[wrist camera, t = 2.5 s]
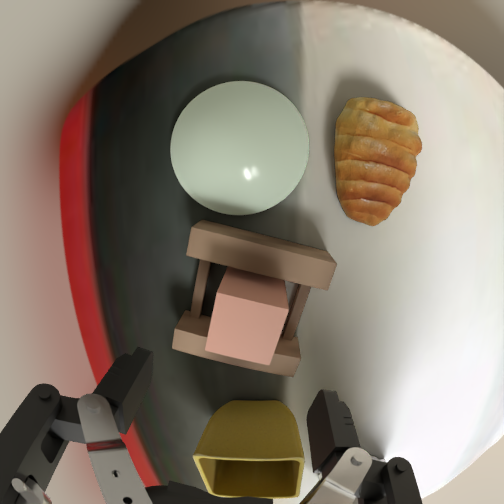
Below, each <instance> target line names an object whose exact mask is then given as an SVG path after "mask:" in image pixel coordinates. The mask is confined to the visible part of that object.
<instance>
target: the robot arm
mask: <svg viewBox="0 0 504 504" xmlns="http://www.w3.org/2000/svg"><path fill="white" fill-rule="evenodd" d="M153 355H154V354H153V352H152V351H149V350H146V349H143V348H140V347H138V348H137V349H136V350H135V352H134V353H133V355H132V356H131V355H128V354H126V353H125V354H123V355H122V356H120V357H118V358H117V359H116V360H115V362H114V363H113V365H112V367H110V369H109V370H108V372H107V373H106V374H105V376H104V377H103V379H102V380H101V382H100V383H99V384H98V386H97V387H96V389H95V390H94V392H93V393H92V394H86V395H84V396H82V397H81V398H71V397H66V396H61V395H60V394H59V391H58V390H57V389H56V388H55V387H54V386H52V385H49V384H39V385H37V386H35V387H34V388H33V389H32V390H31V391H30V393H29V394H28V396H27V397H26V398H25V399H24V401H23V402H22V403H21V405H20V406H19V408H18V409H17V410H16V412H15V413H14V415H13V416H12V417H11V419H10V420H9V422H8V423H7V424H6V426H5V427H4V429H3V430H2V432H1V433H0V504H52V502H51V500H50V498H49V497H48V496H47V494H45V491H46V488H47V486H48V484H49V482H50V480H51V477H52V475H53V473H54V471H55V469H56V467H57V465H58V463H59V461H60V459H61V457H62V455H63V453H64V451H65V449H66V446H67V445H68V443H69V441H73V442H79V443H84V444H87V450H88V454H89V457H90V460H91V464H92V467H93V470H94V473H95V476H96V478H97V481H98V484H99V487H100V489H101V492H102V495H103V497H104V499H105V502H106V504H273V499H271V498H259V497H250V496H245V497H230V498H221V497H217V496H215V495H212V494H210V493H208V492H205V491H203V490H201V489H198V488H196V487H193V486H189V485H184V484H181V483H177V482H173V481H169V484H168V486H164V485H161V486H150V487H145V488H144V486H143V484H142V482H141V480H140V478H139V475H138V473H137V471H136V469H135V467H134V464H133V462H132V460H131V457H130V455H129V453H128V450H127V448H126V446H125V444H124V442H122V439H121V437H120V434H119V432H120V433H123V434H125V435H126V433H127V431H128V429H129V427H130V425H131V423H132V421H133V419H134V417H135V415H136V413H137V410H138V408H139V406H140V404H141V402H142V400H143V398H144V396H145V394H146V392H147V390H148V388H149V386H150V383H151V380H152V373H153ZM353 424H354V423H353V420H352V416H351V413H350V410H349V408H348V407H347V406H346V404H345V403H344V402H339V399H338V395H337V392H336V391H330V390H320V391H319V392H318V394H317V396H316V398H315V400H314V401H313V403H312V405H311V407H310V408H309V411H308V414H307V427H308V434H309V442H310V450H311V458H312V467H313V473H320V474H319V481H318V482H317V484H316V485H315V486H314V487H313V489H312V490H311V491H310V492H309V493H308V494H307V496H306V497H305V498H304V499H303V500H302V501H301V502H300V504H422V500H421V497H420V493H419V490H418V486H417V483H416V479H415V476H414V473H413V470H412V466H411V464H410V463H409V462H408V461H407V460H406V459H404V458H401V457H395V458H392V459H391V460H390V461H389V462H388V463H386V462H385V459H378V458H377V457H375V456H372V455H370V454H369V453H368V452H367V451H365V450H364V449H362V448H360V444H359V441H358V437H357V434H356V430H355V427H354V425H353Z"/></svg>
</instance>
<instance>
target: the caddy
mask: <svg viewBox="0 0 504 504" xmlns="http://www.w3.org/2000/svg"><path fill="white" fill-rule="evenodd" d="M186 255H187V256H191V257H194V258H198V259H200V262H199V268H198V273H197V278H196V283H195V289H194V294H193V300H192V306H191V311H187V310H185V311H184V313H183V315H182V317H181V318H180V320H179V322H178V324H177V325H176V327H175V330H174V338H173V346H172V349H175V350H179V351H182V352H186V353H189V354H193V355H196V356H200V357H204V358H207V359H211V360H215V361H219V362H223V363H227V364H231V365H236V366H240V367H244V368H249V369H253V370H258V371H263V372H268V373H273V374H279V375H284V376H290V377H293V376H294V374H295V372H296V369H297V367H298V365H299V362H300V360H301V355H300V349H299V342H298V337H294V334H295V331H296V328H297V325H298V323H299V320H300V317H301V314H302V312H303V309H304V306H305V303H306V300H307V297H308V294H309V292H310V289H311V287H315V288H319V289H323V290H328V289H329V286H330V283H331V280H332V277H333V274H334V271H335V268H336V265H337V263H336V262H335V261H334V259H333V258H332V257H331V255H330V254H329V253H328V251H324V250H320V249H317V248H313V247H309V246H305V245H301V244H298V243H294V242H290V241H286V240H282V239H278V238H274V237H270V236H266V235H263V234H259V233H255V232H251V231H247V230H243V229H239V228H235V227H231V226H227V225H223V224H218V223H214V222H210V221H206V220H201V221H199V222H198V223H197V224H195V225H194V226H192V228H191V233H190V238H189V243H188V249H187V254H186ZM211 262H214V263H218V264H222V265H225V266H229V267H233V268H237V269H241V270H245V271H249V272H253V273H257V274H261V275H265V276H269V277H273V278H278V279H282V280H286V281H290V282H294V283H298V284H299V286H298V289H297V292H296V295H295V299H294V302H293V304H292V307H291V310H290V313H289V316H288V319H287V322H286V325H285V328H284V331H283V334H281V335H280V337H279V340H278V343H277V346H276V349H275V351H274V354H273V357H272V360H271V363H270V365H265V364H260V363H255V362H251V361H246V360H242V359H237V358H233V357H229V356H225V355H221V354H217V353H213V352H209V351H205V347H206V342H207V337H208V332H209V327H210V323H211V318H212V317H209V316H205V315H202V314H201V311H202V306H203V301H204V296H205V291H206V286H207V281H208V276H209V271H210V266H211Z"/></svg>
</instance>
